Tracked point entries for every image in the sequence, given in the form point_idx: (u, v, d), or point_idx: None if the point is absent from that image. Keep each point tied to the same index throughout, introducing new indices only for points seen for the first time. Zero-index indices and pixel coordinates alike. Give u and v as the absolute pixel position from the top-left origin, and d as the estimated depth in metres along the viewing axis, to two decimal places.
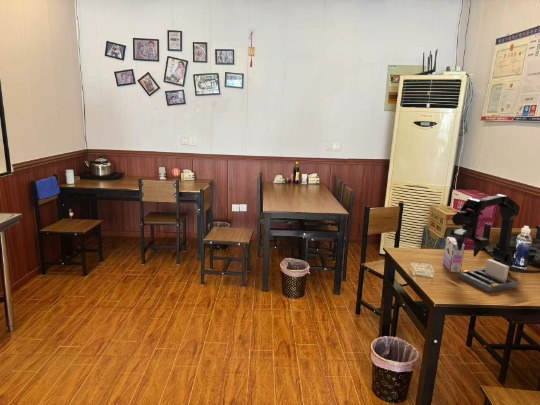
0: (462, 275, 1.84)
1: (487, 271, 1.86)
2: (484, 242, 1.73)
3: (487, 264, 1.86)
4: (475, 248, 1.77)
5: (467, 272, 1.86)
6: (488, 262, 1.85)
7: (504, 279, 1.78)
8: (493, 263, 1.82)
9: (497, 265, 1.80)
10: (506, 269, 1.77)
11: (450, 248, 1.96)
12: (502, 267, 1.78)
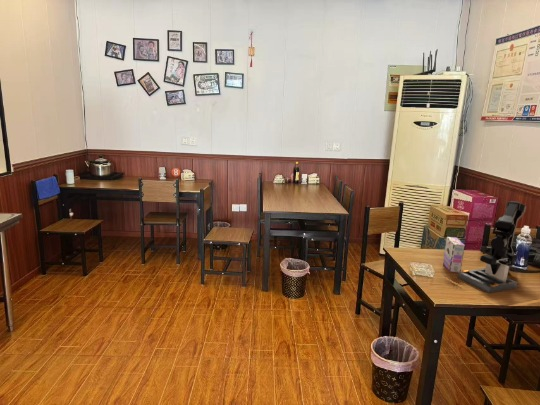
0: (462, 275, 1.84)
1: (487, 271, 1.86)
2: (483, 258, 1.78)
3: (487, 264, 1.86)
4: None
5: (467, 272, 1.86)
6: None
7: (504, 279, 1.78)
8: None
9: None
10: (506, 269, 1.77)
11: (450, 248, 1.96)
12: (502, 267, 1.78)
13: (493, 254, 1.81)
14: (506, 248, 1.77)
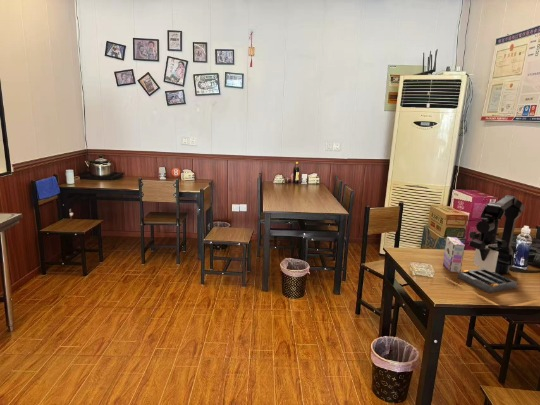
0: (462, 275, 1.84)
1: (476, 257, 1.80)
2: (472, 243, 1.73)
3: (476, 250, 1.80)
4: None
5: (467, 272, 1.86)
6: None
7: (494, 265, 1.73)
8: None
9: None
10: (496, 255, 1.72)
11: (450, 248, 1.96)
12: (492, 253, 1.73)
13: (482, 239, 1.75)
14: (496, 233, 1.72)
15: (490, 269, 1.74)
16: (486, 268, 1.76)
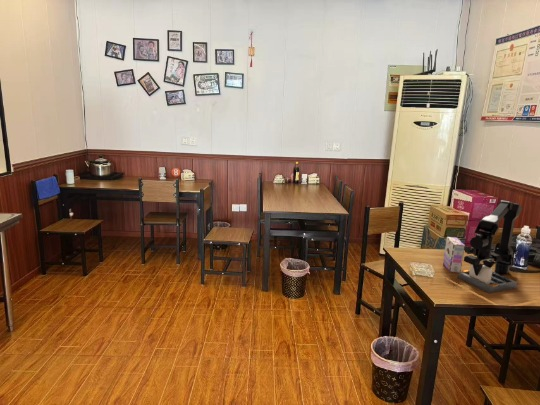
0: (462, 275, 1.84)
1: (471, 274, 1.82)
2: (467, 258, 1.74)
3: (471, 266, 1.82)
4: None
5: (467, 272, 1.86)
6: None
7: (488, 282, 1.75)
8: None
9: None
10: (490, 272, 1.73)
11: (450, 248, 1.96)
12: (486, 270, 1.74)
13: (477, 254, 1.77)
14: (490, 248, 1.73)
15: None
16: None
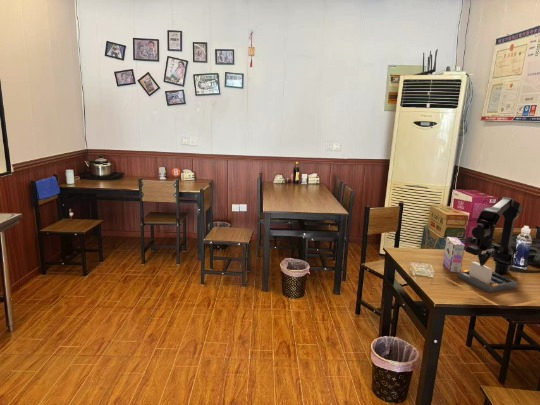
0: (462, 275, 1.84)
1: (471, 274, 1.82)
2: (468, 249, 1.73)
3: (471, 266, 1.82)
4: None
5: (467, 272, 1.86)
6: (472, 264, 1.81)
7: (488, 282, 1.75)
8: (477, 265, 1.79)
9: (481, 267, 1.77)
10: (490, 272, 1.73)
11: (450, 248, 1.96)
12: (486, 270, 1.74)
13: (479, 245, 1.76)
14: (492, 238, 1.72)
15: None
16: None
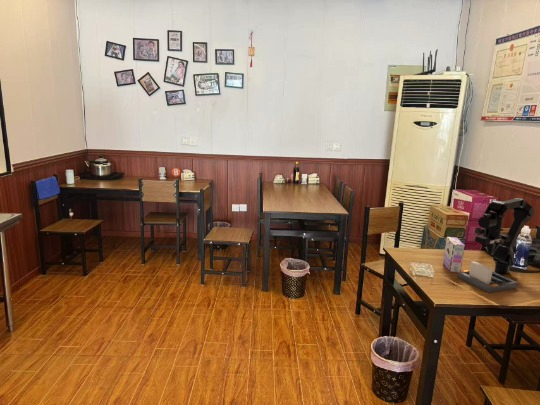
0: (462, 275, 1.84)
1: (471, 274, 1.82)
2: (478, 239, 1.83)
3: (471, 266, 1.82)
4: None
5: (467, 272, 1.86)
6: (472, 264, 1.81)
7: (488, 282, 1.75)
8: (477, 265, 1.79)
9: (481, 267, 1.77)
10: (490, 272, 1.73)
11: (450, 248, 1.96)
12: (486, 270, 1.74)
13: (487, 235, 1.85)
14: (500, 229, 1.81)
15: None
16: None
